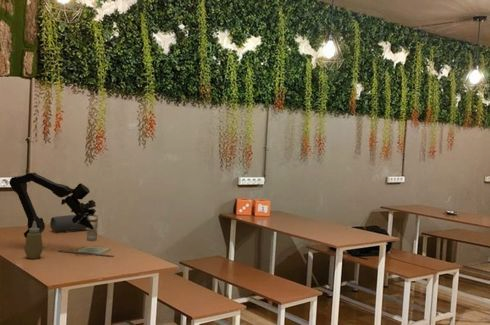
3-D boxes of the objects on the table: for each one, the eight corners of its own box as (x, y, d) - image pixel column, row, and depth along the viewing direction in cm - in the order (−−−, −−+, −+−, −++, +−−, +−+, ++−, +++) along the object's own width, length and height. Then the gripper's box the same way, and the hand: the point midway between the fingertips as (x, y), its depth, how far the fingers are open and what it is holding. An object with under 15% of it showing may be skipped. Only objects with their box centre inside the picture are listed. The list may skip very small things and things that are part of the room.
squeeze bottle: (25, 260, 250) (26, 222, 249) (23, 256, 257) (24, 220, 256) (43, 259, 253) (44, 222, 252) (41, 255, 260) (42, 219, 260)
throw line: (58, 251, 270) (58, 251, 270) (60, 250, 272) (60, 250, 272) (112, 257, 265) (112, 256, 265) (114, 256, 267) (114, 255, 267)
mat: (99, 254, 269) (99, 253, 269) (76, 251, 271) (76, 251, 271) (110, 249, 282) (110, 248, 282) (88, 247, 284) (88, 246, 284)
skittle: (91, 241, 268) (92, 216, 268) (84, 240, 271) (85, 215, 270) (99, 240, 273) (100, 215, 272) (92, 238, 276) (93, 214, 275)
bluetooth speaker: (84, 228, 336) (84, 213, 336) (90, 230, 329) (91, 215, 329) (49, 231, 321) (50, 215, 320) (55, 234, 314) (56, 217, 314)
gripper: (79, 197, 262) (99, 220, 261) (93, 193, 280) (112, 215, 280) (63, 211, 263) (83, 235, 263) (78, 206, 282) (97, 228, 281)
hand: (94, 227), depth 272 cm, fingers closed on skittle, 5 cm apart
